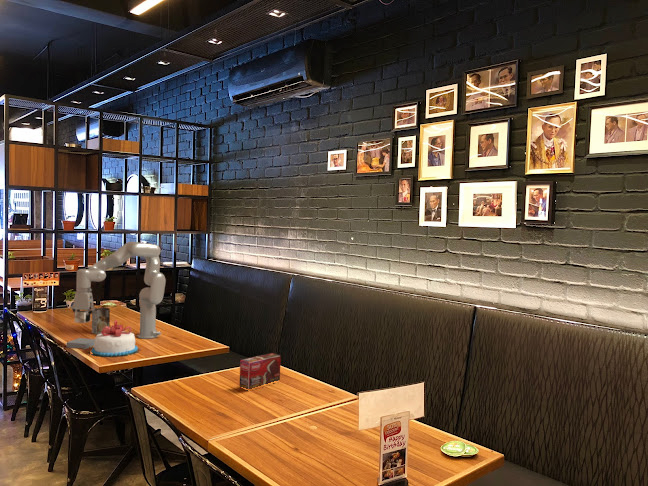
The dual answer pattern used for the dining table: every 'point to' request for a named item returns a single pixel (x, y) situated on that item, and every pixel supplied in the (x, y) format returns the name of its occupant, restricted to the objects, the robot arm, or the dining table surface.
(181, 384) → the dining table surface
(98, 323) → the coffee box
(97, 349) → the wedding cake
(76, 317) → the cube
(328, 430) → the dining table surface
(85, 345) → the stand
